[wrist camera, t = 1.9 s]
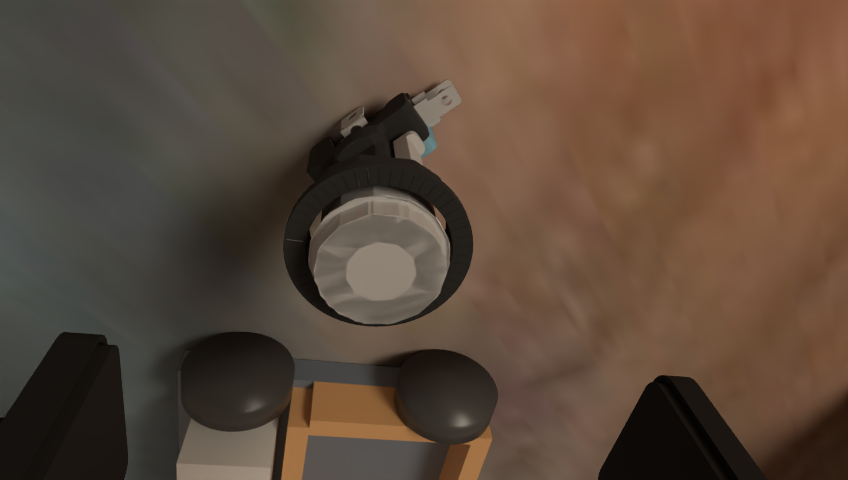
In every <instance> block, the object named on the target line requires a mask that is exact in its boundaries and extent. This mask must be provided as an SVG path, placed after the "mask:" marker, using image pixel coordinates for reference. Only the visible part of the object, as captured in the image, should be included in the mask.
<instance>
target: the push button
mask: <svg viewBox="0 0 848 480" xmlns="http://www.w3.org/2000/svg"><path fill="white" fill-rule="evenodd" d="M441 89H444V90H443V91H441V92H440V93H439V91H440V90H441ZM443 96H447V97H446V98H444V99H442V97H443ZM449 101H451V103H450V104H449V105H445V104H446V103H448V102H449ZM460 103H461V98H460V96H459V95H458V92H457V91H456V89H455V88H454V86H453V85H452V83H451V81H450V80H448V79H446V80H445V81H443V82H442V83H441V84H439V85H438V86H436V87H435V88H433V89H432V90H431V91H429V92H428V93H426V94H425V93H424V91H423V92H421V93H420V94H418V95H417V96H415V97H414V98H413V99H411V97H410V96H409V95H408V93H406V94H404V93H401V94H399V95H397V96H396V97H394V98H393V99H392V100H390V101H389V102H388V103H387V105H386V106H385V108H383V109H382V110H380V111H379V112H378V113H376V114H375V115H373V116H372V117H370V118H369V119H368V120H366V119H365V117H364V107H363V106H361V107H359V108H357V109H356V110H354V111H353V112H352V113H350V114H349V115H347V116H346V117H345V118H344V119H343V120H342V121H341V131H340V132H341V134H342V135H343V136H344V137H342V138H341V139H339V140H338V141H336V142H335V143H334V142H333V141H332V140H331V139H330V138H329V137H328V138H325V139H324V140H322V141H321V142H320V143H318V144H317V145H316V146H314V147H313V148H312V150H311V152H310V157H309V163H308V168H307V173H308V174H309V175H310V176H311V177H312V178H313V180H314V181H315V183H314V184H312V185H311V186H310V187H309V188H308V189H307V190H306V191H305V192H304V193H303V194H302V196H301V197H300V198H299V200H298V201H297V203H296V204H295V206H294V208H293V210H292V212H291V214H290V216H289V219H288V223H287V226H286V230H285V236H284V246H283V251H284V260H285V264H286V268H287V271H288V273H289V276H290V278H291V280H292V282H293V283H294V285H295V287H296V288H297V290H298V291H299V292H300V293H301V294H302V296H303V297H304V298H305V299H306V300H307V301H308V302H309V303H311V304H312V305H313V306H314V307H316V308H317V309H319V310H320V311H322V312H323V313H325V314H327V315H329V316H331V317H333V318H335V319H338V320H340V321H344V322H347V323H351V324H355V325H362V326H375V327H378V326H391V325H397V324H402V323H406V322H409V321H413V320H415V319H418V318H420V317H422V316H424V315H426V314H428V313H430V312H432V311H433V310H435V309H437V308H438V307H439V306H441V305H442V304H443V303H445V302H446V301H447V300H448V299H449V298H450V297H451V296H452V295H453V294H454V293H455V291H456V290H457V289H458V287H459V286H460V285H461V283H462V281H463V280H464V278H465V276H466V274H467V272H468V269H469V266H470V263H471V259H472V253H473V235H472V230H471V225H470V222H469V219H468V217H467V214H466V211H465V209H464V207H463V205H462V203H461V202H460V200H459V199H458V197H457V196H456V195H455V193H454V192H453V191H452V190H451V189H450V188H449V187H448V186H447V185H446V184H445V183H444V182H442V180H441V179H440V178H439V176H437V175H436V174H434V173H433V172H431V171H430V170H428V169H427V168H426V167H424V166H423V163H422V159H421V158H422V157H425V156H427V155H428V154H430V153H431V152H432V151H433V150H435V148H436V147H437V143H436V140H435V137H434V134H433V131H432V128H431V127H433V126H434V125H436V124H437V123H438V122H440V121H441V119H440V118H439V117H441V116H442V115H444V114H445V113H447V112H448V111H450V110H451V109H452V108H454V107H455V106H457V105H458V104H460ZM355 114H356V115H355ZM354 115H355V116H354ZM352 116H354V117H353V118H352V119H350V118H351V117H352ZM349 119H350V120H349ZM433 205H434V206H435V207H436V208H437V209H438V210H439V212H440V213H441V214H442V215H443V217H444V218H445V220H446V229H445V231H444V229H443V227H442V225H441V224H440V222H439V220H438V219H437V218H436V215H435V211H434V207H433ZM321 210H322V217H321V224H320V225H319V226H318V228H317V229H316V231H315V232H314V234H313V236H312V238H311V236H310V230H309V228H310V226H311V224H312V222H313V221H314V219H315V217H316V216H317V215H318V214H319V212H320V211H321Z"/></svg>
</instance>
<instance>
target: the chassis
mask: <svg viewBox="0 0 848 480" xmlns="http://www.w3.org/2000/svg"><path fill="white" fill-rule="evenodd" d="M177 384H178V444H179V457H178V460H177V463H176V467H177V480H477V478H478V475H479V473H480V470H481V468H482V465H483V462H484V460H485V457H486V454H487V452H488V449H489V447H490V444H491V441H492V435H491V431H490V427H489V423H490V420H491V417H492V414H493V412H494V409H495V406H496V404H497V399H498V392H497V387H496V384H495V382H494V380H493V378H492V377H491V376H490V374H489V373H488V372H487V371H486V370H485V369H484V368H483V367H482V366H481V365H480V364H478V363H477V362H475V361H474V360H472V359H470V358H469V357H467V356H464V355H462V354H459V353H456V352H452V351H447V350H426V351H422V352H419V353H416V354H414V355H413V356H411V357H410V358H408V359H407V360H406V361H405V362H404V364H403V365H402V367H401V368H399V367H387V366H375V365H363V364H351V363H339V362H327V361H315V360H303V359H293V357H292V356H291V354H290V352H289V351H288V350H287V349H286V348H285V347H284V346H283V345H282V344H281V343H279V342H278V341H276V340H274V339H272V338H270V337H267V336H264V335H261V334H257V333H250V332H233V333H226V334H221V335H217V336H214V337H212V338H209V339H207V340H205V341H203V342H201V343H200V344H198V345H197V346H195V347H194V348H193V349H192V350H185V353H184V355H183V358H182V360H181V363H180V365H179V368H178V370H177Z"/></svg>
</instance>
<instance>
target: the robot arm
mask: <svg viewBox="0 0 848 480" xmlns="http://www.w3.org/2000/svg"><path fill="white" fill-rule="evenodd" d="M127 465H128V449H127V438H126V426H125V414H124V403H123V391H122V380H121V368H120V356H119V349H118V346H116V345H108V344H107V339H106V337H105V336H104V335H97V334H83V333H69V332H63V333H61V334H60V335H59V336H58V337H57V339H56V340H55V342H54V343H53V345H52V346H51V348H50V349H49V351H48V352H47V354H46V355H45V357H44V358H43V360H42V361H41V363H40V364H39V366H38V367H37V369H36V370H35V372H34V373H33V375H32V376H31V378H30V379H29V381H28V382H27V384H26V386H25V387H24V389H23V390H22V392H21V393H20V395H19V396H18V398H17V399H16V401H15V402H14V404H13V405H12V407H11V408H10V410H9V411H8V413H7V414H6V416H5V417H4V418H0V480H124V478H125V474H126V470H127ZM598 480H767V479H766V477H765V476H764V474H763V473H762V472H761V470H760V469H759V468H758V466H757V465H756V463H755V462H754V461H753V459H752V458H751V457H750V455H749V454H748V452H747V451H746V450H745V448H744V447H743V446H742V444H741V443H740V441H739V440H738V439H737V437H736V436H735V435H734V433H733V432H732V430H731V429H730V428H729V426H728V425H727V424H726V422H725V421H724V419H723V418H722V417H721V415H720V414H719V412H718V411H717V410H716V408H715V407H714V406H713V404H712V403H711V401H710V400H709V399H708V397H707V396H706V395H705V393H704V392H703V390H702V389H701V388H700V386H699V385H698V384H697V383H696V382H695V381H694V379H692V378H690V377H680V376H666V375H660V376H658V377H656V378H655V380H654V381H653V382H651V383H649V384H648V385H647V386H646V388H645V390H644V391H643V393H642V395H641V397H640V399H639V400H638V402H637V404H636V406H635V408H634V410H633V411H632V413H631V415H630V417H629V419H628V421H627V422H626V424H625V426H624V428H623V430H622V431H621V433H620V435H619V437H618V439H617V441H616V442H615V444H614V446H613V448H612V450H611V451H610V453H609V455H608V457H607V459H606V461H605V462H604V464H603V466H602V468H601V470H600V472H599V476H598Z"/></svg>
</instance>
